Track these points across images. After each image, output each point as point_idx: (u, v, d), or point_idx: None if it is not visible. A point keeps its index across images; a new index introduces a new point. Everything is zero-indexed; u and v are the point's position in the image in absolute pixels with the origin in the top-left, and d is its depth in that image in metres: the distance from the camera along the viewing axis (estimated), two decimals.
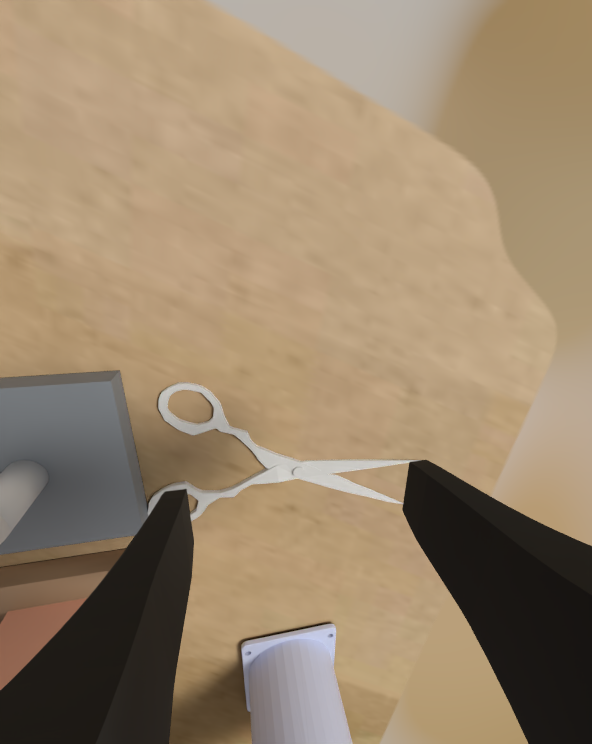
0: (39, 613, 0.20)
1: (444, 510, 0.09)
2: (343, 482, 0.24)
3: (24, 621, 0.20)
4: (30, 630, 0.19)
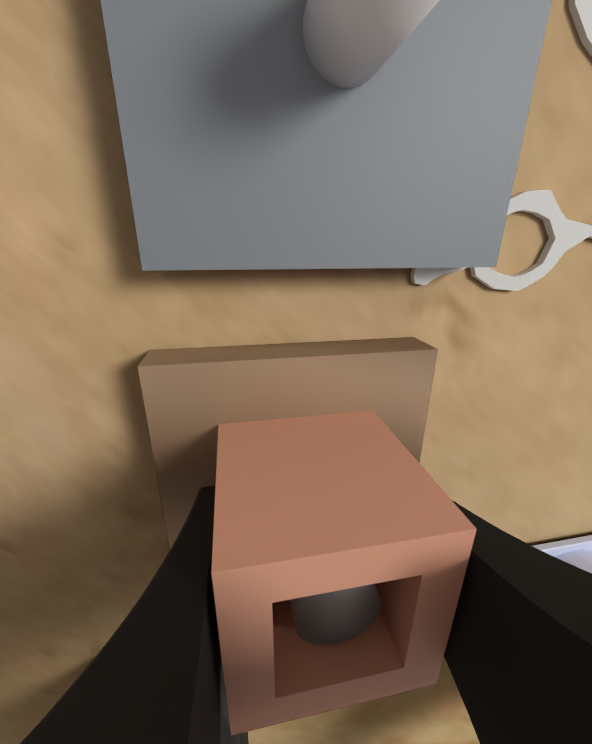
0: (285, 426, 0.10)
1: None
2: None
3: (264, 434, 0.10)
4: (288, 444, 0.09)
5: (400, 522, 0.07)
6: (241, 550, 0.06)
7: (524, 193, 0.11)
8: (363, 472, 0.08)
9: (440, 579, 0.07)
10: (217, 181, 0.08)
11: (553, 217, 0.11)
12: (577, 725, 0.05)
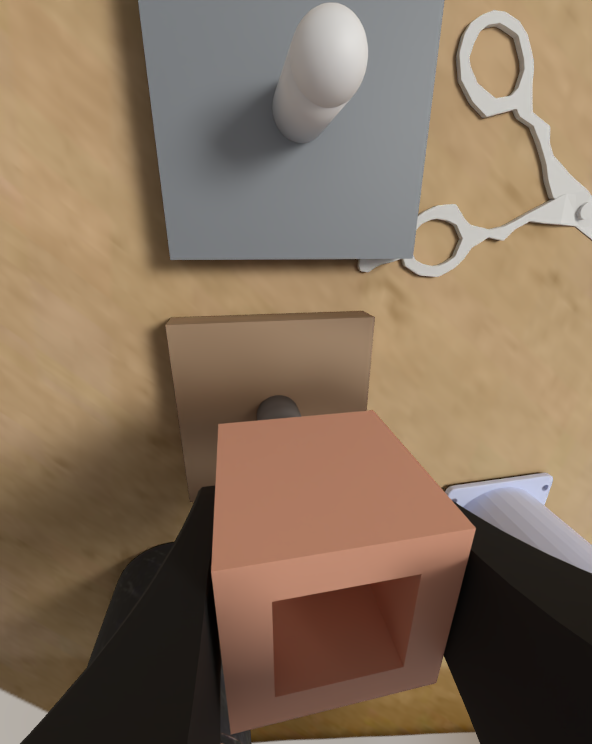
0: (285, 426, 0.10)
1: None
2: None
3: (264, 434, 0.10)
4: (288, 444, 0.09)
5: (400, 521, 0.07)
6: (242, 550, 0.06)
7: (436, 206, 0.15)
8: (363, 471, 0.08)
9: (439, 578, 0.07)
10: (219, 202, 0.12)
11: (459, 223, 0.16)
12: (577, 725, 0.05)
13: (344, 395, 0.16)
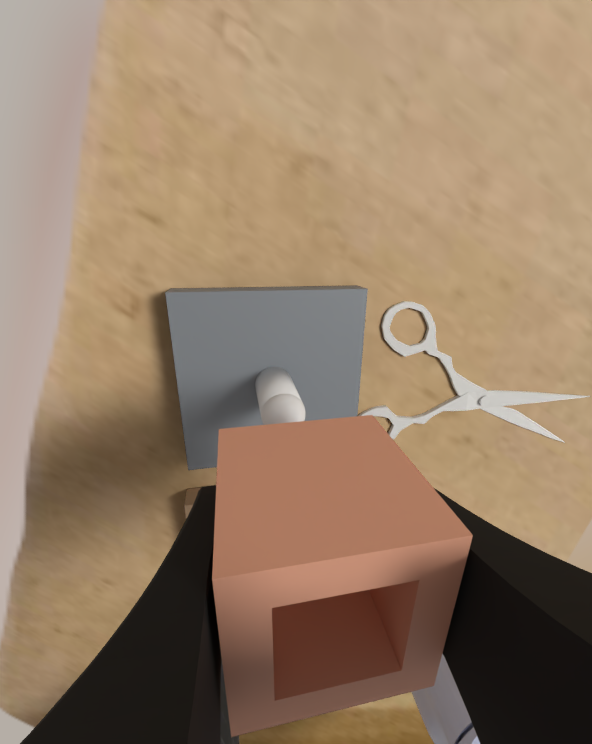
0: (285, 431, 0.10)
1: None
2: (518, 415, 0.24)
3: (264, 439, 0.10)
4: (288, 449, 0.09)
5: (398, 528, 0.07)
6: (242, 557, 0.06)
7: (373, 409, 0.22)
8: (362, 478, 0.08)
9: (437, 584, 0.07)
10: None
11: (390, 417, 0.22)
12: (577, 725, 0.05)
13: None
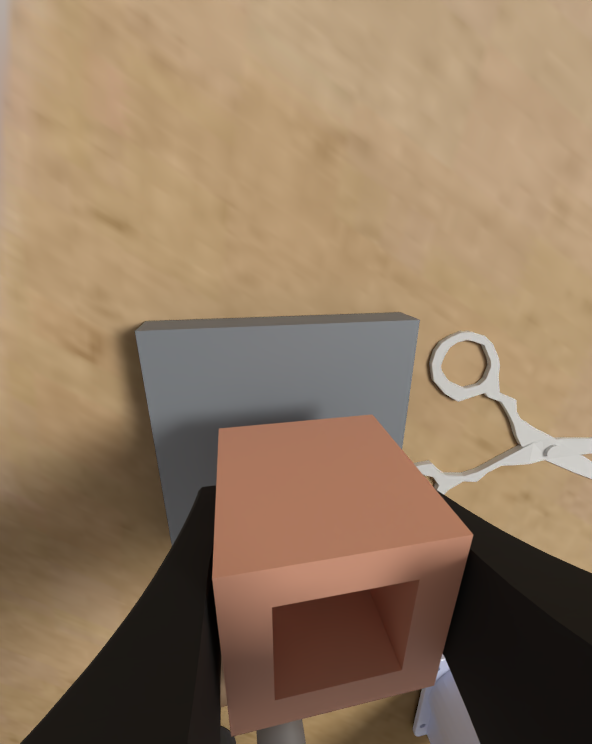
0: (285, 431, 0.10)
1: None
2: (589, 465, 0.20)
3: (264, 439, 0.10)
4: (288, 449, 0.09)
5: (398, 528, 0.07)
6: (242, 556, 0.06)
7: None
8: (362, 477, 0.08)
9: (437, 584, 0.07)
10: None
11: (436, 475, 0.17)
12: (577, 725, 0.05)
13: None
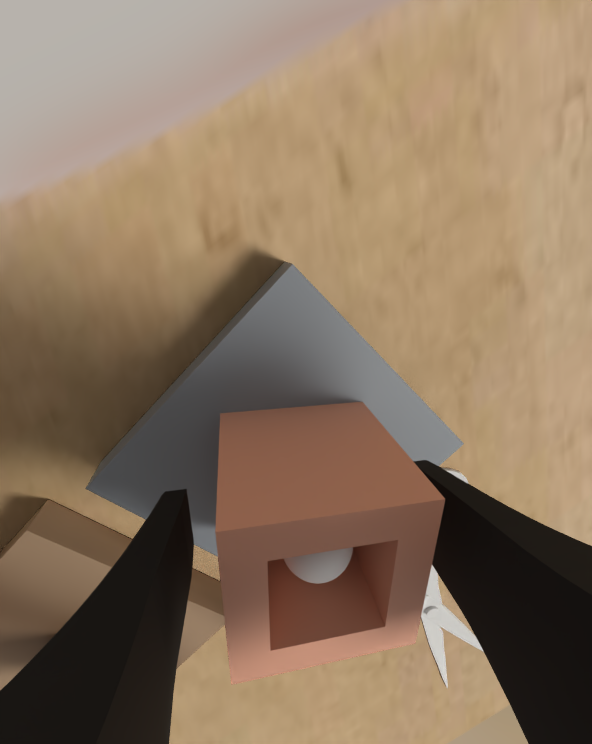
0: (281, 415, 0.11)
1: (444, 510, 0.09)
2: (439, 641, 0.21)
3: (262, 422, 0.11)
4: (284, 430, 0.10)
5: (379, 493, 0.08)
6: (241, 515, 0.07)
7: None
8: (349, 453, 0.09)
9: (415, 544, 0.08)
10: (173, 477, 0.12)
11: None
12: None
13: None
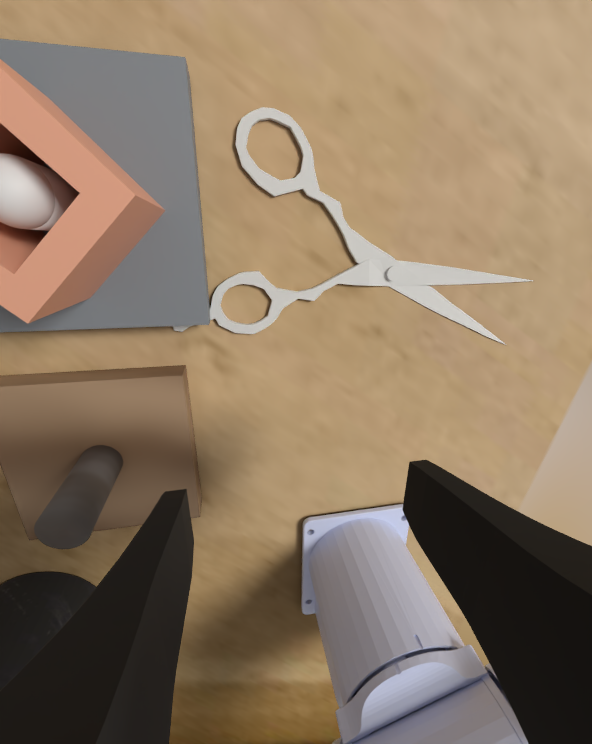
0: None
1: (444, 510, 0.09)
2: (441, 300, 0.19)
3: None
4: None
5: None
6: None
7: (240, 273, 0.17)
8: None
9: None
10: None
11: (266, 287, 0.17)
12: None
13: (166, 443, 0.18)
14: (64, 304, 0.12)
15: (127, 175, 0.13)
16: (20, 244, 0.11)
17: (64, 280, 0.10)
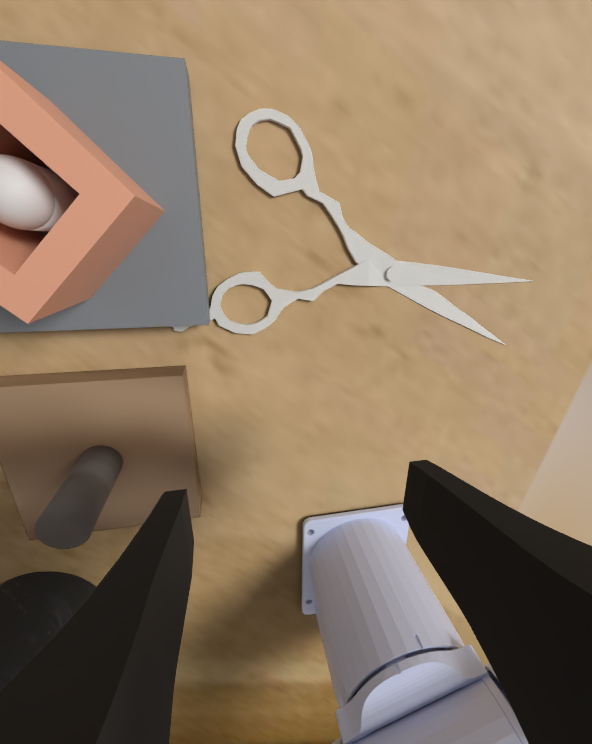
0: None
1: (444, 510, 0.09)
2: (440, 300, 0.19)
3: None
4: None
5: None
6: None
7: (239, 274, 0.17)
8: None
9: None
10: None
11: (266, 287, 0.17)
12: None
13: (166, 443, 0.18)
14: (64, 304, 0.12)
15: (127, 176, 0.13)
16: (20, 244, 0.11)
17: (64, 280, 0.10)
